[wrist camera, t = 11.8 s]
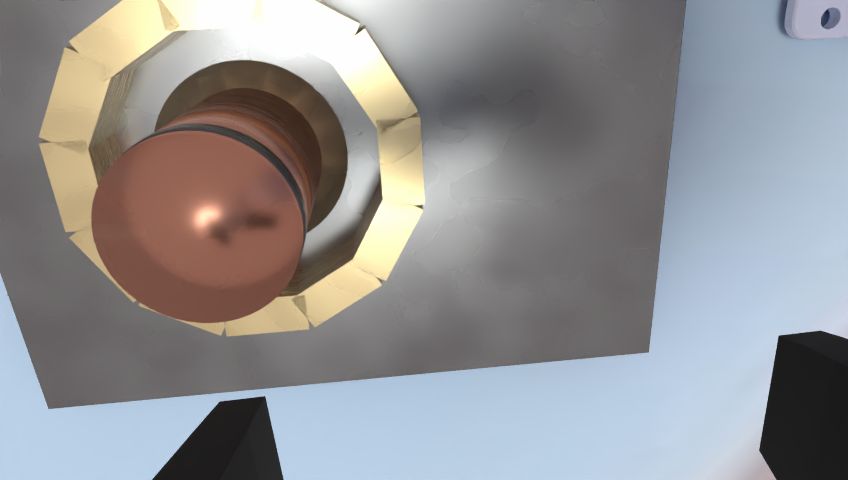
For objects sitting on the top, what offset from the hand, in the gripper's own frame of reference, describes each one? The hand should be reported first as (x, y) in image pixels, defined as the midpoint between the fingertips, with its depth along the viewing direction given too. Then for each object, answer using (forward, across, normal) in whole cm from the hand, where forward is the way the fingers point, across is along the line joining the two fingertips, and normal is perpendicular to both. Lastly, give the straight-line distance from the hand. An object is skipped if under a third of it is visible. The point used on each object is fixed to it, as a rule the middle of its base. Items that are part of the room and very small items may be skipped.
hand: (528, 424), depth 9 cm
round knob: (+8, +5, -2) cm, 10 cm away
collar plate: (+9, +3, -2) cm, 10 cm away
